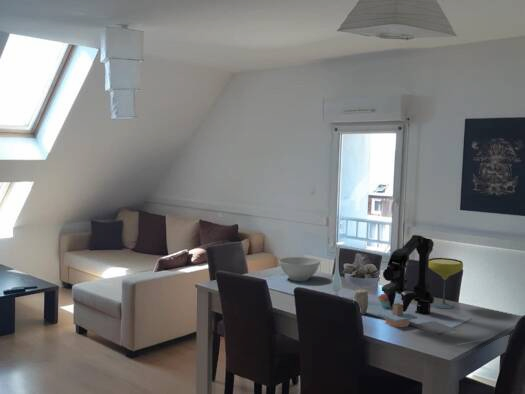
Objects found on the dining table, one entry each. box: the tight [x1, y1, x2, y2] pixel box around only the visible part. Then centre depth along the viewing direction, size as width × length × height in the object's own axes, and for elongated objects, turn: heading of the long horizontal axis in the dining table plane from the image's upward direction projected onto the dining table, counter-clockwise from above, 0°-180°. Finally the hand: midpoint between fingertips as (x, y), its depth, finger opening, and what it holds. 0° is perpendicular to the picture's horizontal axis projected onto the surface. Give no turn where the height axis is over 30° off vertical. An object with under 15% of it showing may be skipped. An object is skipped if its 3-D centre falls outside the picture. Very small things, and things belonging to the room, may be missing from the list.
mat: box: [411, 320, 458, 335], centre depth 263 cm, size 15×15×1 cm
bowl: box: [385, 317, 411, 328], centre depth 268 cm, size 11×11×4 cm
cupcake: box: [378, 293, 392, 309], centre depth 298 cm, size 9×8×12 cm
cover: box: [378, 302, 418, 322], centre depth 267 cm, size 13×13×6 cm
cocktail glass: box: [428, 257, 464, 310], centre depth 300 cm, size 18×18×25 cm
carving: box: [353, 288, 369, 315], centre depth 286 cm, size 6×8×12 cm
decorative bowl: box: [278, 256, 321, 282], centre depth 361 cm, size 27×27×12 cm
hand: (397, 309), depth 267 cm, fingers open, 9 cm apart
